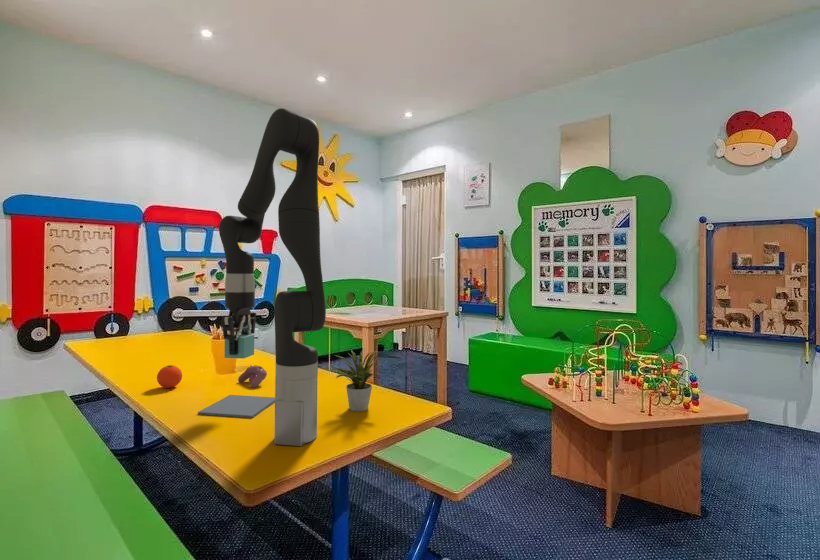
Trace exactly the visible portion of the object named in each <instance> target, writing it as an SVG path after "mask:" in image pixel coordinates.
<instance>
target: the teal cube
mask: <svg viewBox="0 0 820 560" xmlns="http://www.w3.org/2000/svg"><path fill="white" fill-rule="evenodd" d="M254 355H255V334H252V335H242V334H241V333H240V334H239V338H238V354H237V355H230V354H229V340H228V339H224V358H225V359H247V358H250V357H251V356H254Z"/></svg>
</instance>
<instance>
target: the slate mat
mask: <svg viewBox="0 0 820 560" xmlns="http://www.w3.org/2000/svg"><path fill="white" fill-rule="evenodd" d="M273 404H275V396H273V397H272V396H259V395H256V396H255V395H241V394H229V395H227V396H225V397H223V398H221V399H219V400H217V401H216V402H214V403H212V404H210V405H208V406H206V407H205V408H203V409H201V410H199V411H198V412H197V415H200V414H204V416H215V415H218V416H219V417H229V416H233V417H234V418H244V417H245V418H247V419H248V418H249V419H253V418H255V417H256V416H258V415H260V413H262V412H263V411H264V410H266V409H267V408H269V407H270V406H271V405H273ZM218 416H217V417H218Z"/></svg>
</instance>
